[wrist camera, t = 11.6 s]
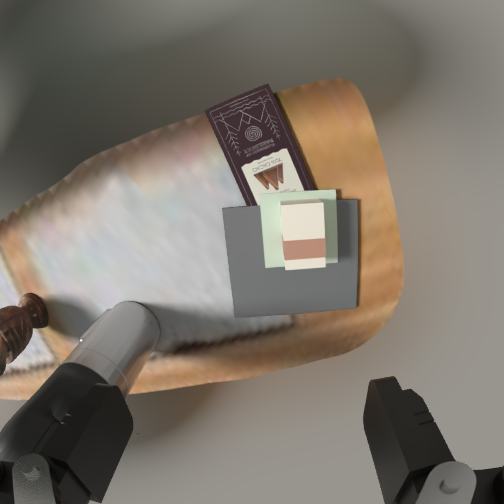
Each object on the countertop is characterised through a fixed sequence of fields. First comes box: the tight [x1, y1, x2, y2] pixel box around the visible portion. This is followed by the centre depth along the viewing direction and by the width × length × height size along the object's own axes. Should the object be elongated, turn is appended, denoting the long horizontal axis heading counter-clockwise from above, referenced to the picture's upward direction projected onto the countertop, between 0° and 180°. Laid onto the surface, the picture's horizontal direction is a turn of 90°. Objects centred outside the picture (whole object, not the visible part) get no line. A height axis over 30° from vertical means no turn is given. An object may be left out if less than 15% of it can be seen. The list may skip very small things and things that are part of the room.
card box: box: [280, 199, 326, 270], centre depth 39 cm, size 8×5×4 cm, turn 5°
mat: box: [222, 189, 358, 317], centre depth 42 cm, size 18×18×1 cm
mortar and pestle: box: [0, 293, 48, 376], centre depth 38 cm, size 12×9×20 cm
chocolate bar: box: [205, 84, 315, 206], centre depth 39 cm, size 9×1×18 cm
